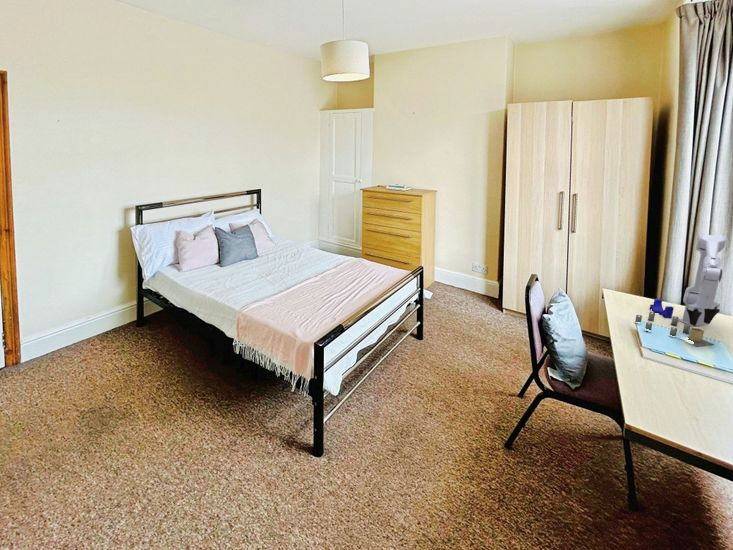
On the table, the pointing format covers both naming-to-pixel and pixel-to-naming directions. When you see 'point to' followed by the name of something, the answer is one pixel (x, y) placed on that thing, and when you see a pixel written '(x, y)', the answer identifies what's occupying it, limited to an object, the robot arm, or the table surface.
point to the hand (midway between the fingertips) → (699, 324)
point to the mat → (702, 343)
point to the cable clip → (661, 309)
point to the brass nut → (696, 335)
